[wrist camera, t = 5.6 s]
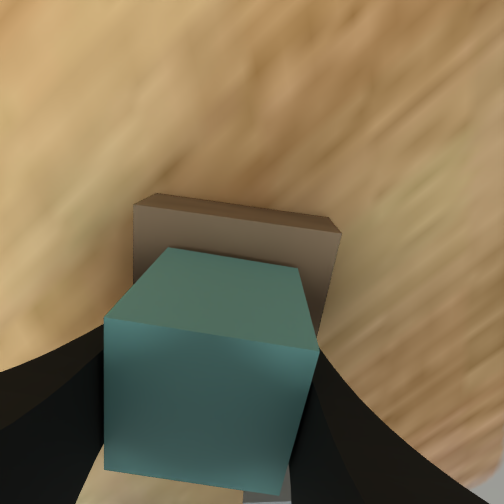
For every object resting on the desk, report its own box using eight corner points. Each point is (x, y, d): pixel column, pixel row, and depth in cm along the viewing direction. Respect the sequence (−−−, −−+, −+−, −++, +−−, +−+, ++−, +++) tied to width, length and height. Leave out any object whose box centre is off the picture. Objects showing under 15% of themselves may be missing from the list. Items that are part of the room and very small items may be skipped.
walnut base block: (296, 354, 17) (302, 395, 15) (154, 334, 17) (133, 372, 15) (327, 215, 15) (341, 233, 12) (159, 191, 15) (133, 204, 12)
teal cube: (274, 372, 14) (279, 495, 9) (160, 355, 13) (103, 470, 9) (297, 268, 12) (319, 351, 7) (168, 246, 12) (103, 317, 7)
